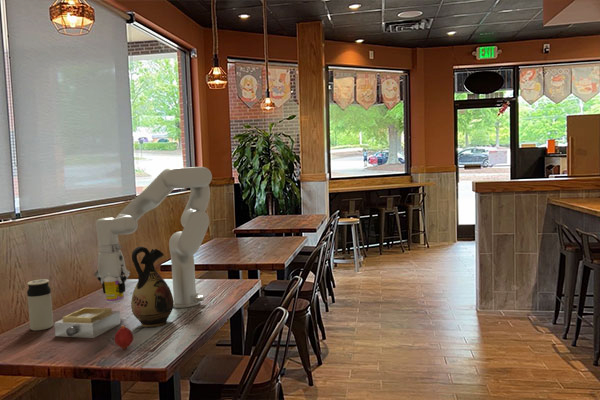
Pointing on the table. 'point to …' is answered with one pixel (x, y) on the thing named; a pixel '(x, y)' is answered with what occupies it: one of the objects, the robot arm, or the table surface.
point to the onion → (123, 337)
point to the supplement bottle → (112, 290)
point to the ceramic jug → (150, 291)
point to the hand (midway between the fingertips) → (114, 292)
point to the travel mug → (40, 305)
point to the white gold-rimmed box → (87, 322)
